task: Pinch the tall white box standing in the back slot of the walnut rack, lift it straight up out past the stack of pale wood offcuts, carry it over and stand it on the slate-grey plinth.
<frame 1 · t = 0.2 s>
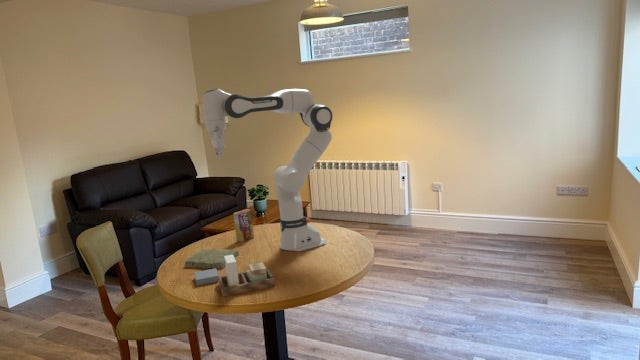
hand: (219, 157, 205), 48 cm above the table, tool pointing down, fingers open, 8 cm apart
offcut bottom: (258, 283, 182), resting in walnut rack, touching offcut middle
offcut top: (257, 272, 181), point 4 cm above the table
decorative tile: (211, 262, 211), on the table
tall white box: (233, 287, 179), resting in walnut rack
slate plinth: (207, 279, 189), on the table
candy box: (245, 239, 240), on the table
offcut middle: (257, 277, 182), point 2 cm above the table, touching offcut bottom
walnut rack: (246, 285, 180), on the table
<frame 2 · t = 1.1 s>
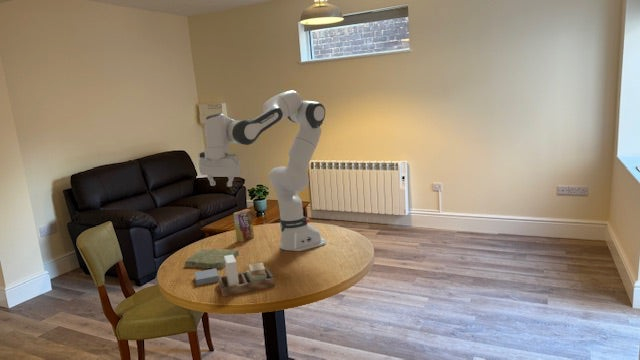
hand: (221, 185, 191), 37 cm above the table, tool pointing down, fingers open, 8 cm apart
nothing on the table moved.
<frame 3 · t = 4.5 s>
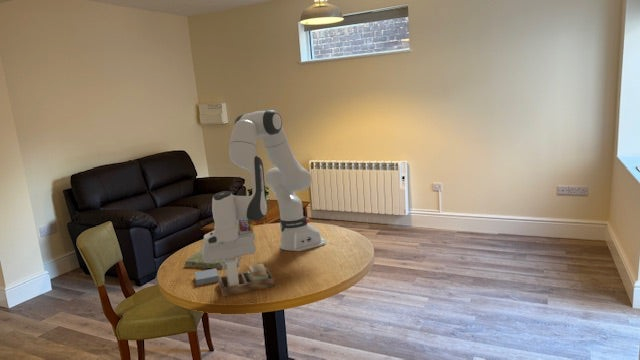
hand: (231, 268, 177), 8 cm above the table, tool pointing down, fingers closed on tall white box, 3 cm apart
offcut top: (258, 273, 181), point 4 cm above the table, touching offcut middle
tall white box: (233, 287, 179), resting in walnut rack, touching gripper
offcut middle: (258, 279, 181), point 2 cm above the table, touching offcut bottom, offcut top
everything else where it was.
when the fingers open (12 cm above the table, at t = 10.3 s): tall white box stays where it is, resting on slate plinth.
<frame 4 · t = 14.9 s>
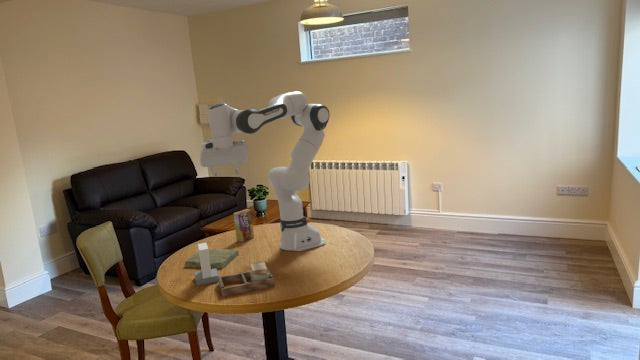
hand: (226, 174, 195), 41 cm above the table, tool pointing down, fingers open, 8 cm apart
offcut top: (259, 272, 181), point 4 cm above the table
tall white box: (206, 273, 189), point 2 cm above the table, touching slate plinth
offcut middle: (259, 277, 182), point 2 cm above the table, touching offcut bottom
everything else where it was.
at the end: tall white box 0.1 cm from the slate plinth (horizontally); tall white box point 2.5 cm above the table; tall white box tilted 0° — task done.
